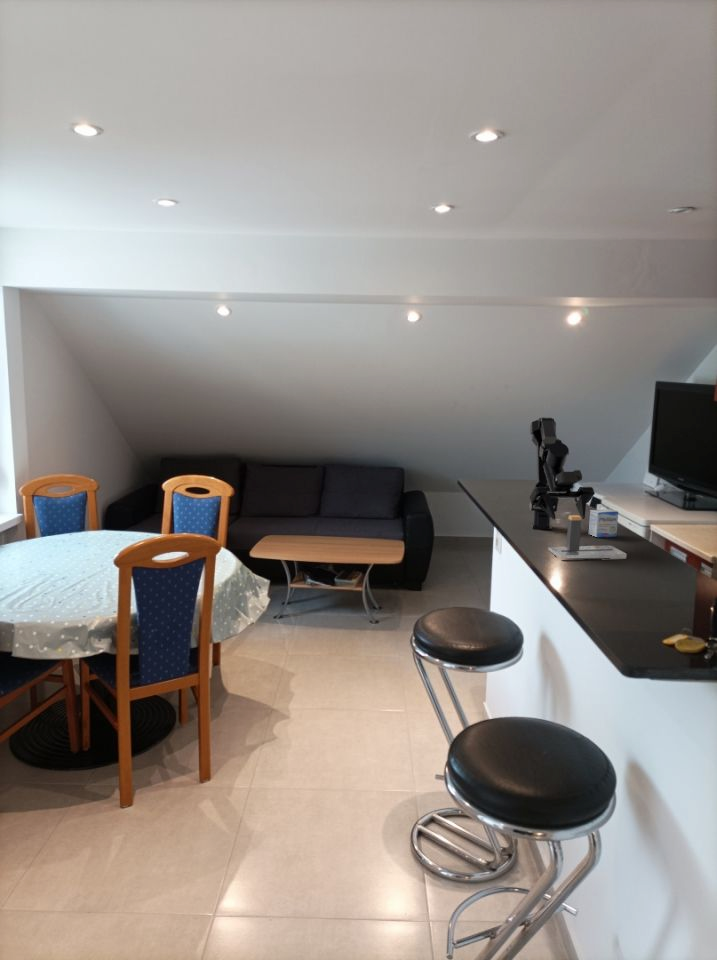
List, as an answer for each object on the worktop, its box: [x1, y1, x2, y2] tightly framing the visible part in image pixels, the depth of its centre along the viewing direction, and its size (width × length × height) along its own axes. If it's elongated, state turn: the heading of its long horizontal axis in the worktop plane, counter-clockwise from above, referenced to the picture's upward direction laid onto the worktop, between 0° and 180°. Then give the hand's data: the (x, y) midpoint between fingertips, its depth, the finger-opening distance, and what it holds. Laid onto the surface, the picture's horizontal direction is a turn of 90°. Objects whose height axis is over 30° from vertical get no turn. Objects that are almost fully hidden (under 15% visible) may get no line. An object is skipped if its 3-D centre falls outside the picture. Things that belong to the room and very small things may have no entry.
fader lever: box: [565, 514, 582, 551], centre depth 191 cm, size 3×2×10 cm, turn 97°
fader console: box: [548, 545, 628, 560], centre depth 193 cm, size 20×9×2 cm, turn 97°
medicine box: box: [588, 508, 619, 538], centre depth 215 cm, size 8×4×9 cm, turn 105°
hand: (569, 518), depth 194 cm, fingers open, 9 cm apart
